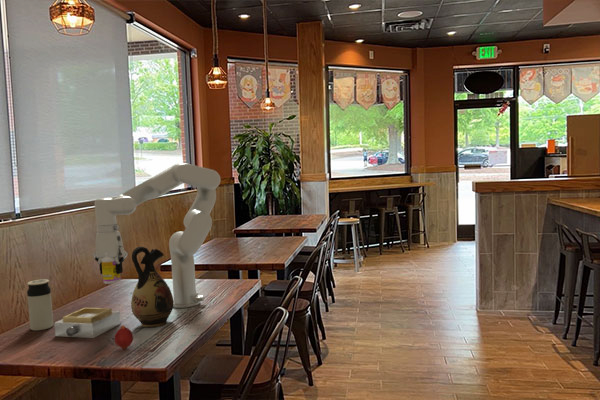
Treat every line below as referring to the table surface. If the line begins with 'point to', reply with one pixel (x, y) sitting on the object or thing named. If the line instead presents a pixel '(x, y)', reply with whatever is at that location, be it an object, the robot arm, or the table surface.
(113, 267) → the supplement bottle
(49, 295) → the travel mug
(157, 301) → the ceramic jug
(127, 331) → the onion
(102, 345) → the table surface
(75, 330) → the white gold-rimmed box
